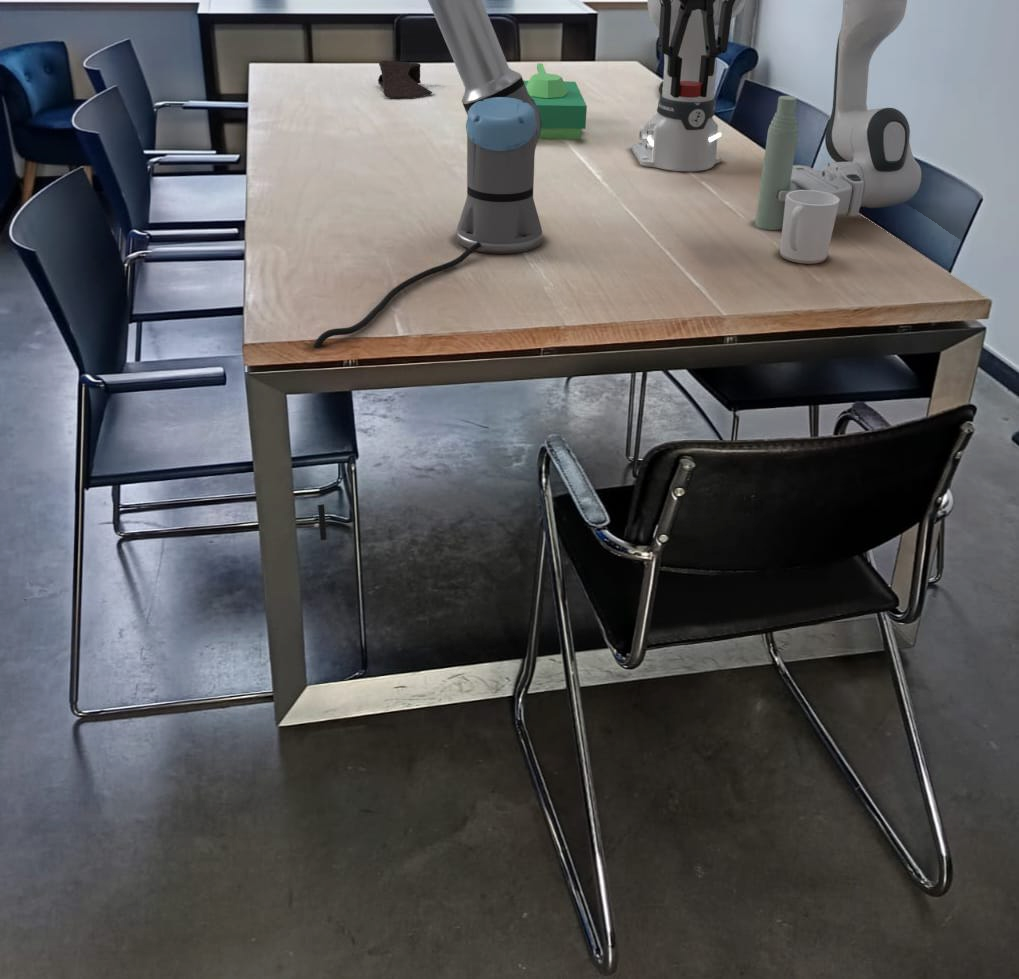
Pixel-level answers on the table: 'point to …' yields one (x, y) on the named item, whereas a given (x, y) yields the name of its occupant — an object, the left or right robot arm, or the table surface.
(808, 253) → the mug
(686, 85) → the cap
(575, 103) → the toy tank
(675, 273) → the table surface
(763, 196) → the bottle
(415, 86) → the axe head
